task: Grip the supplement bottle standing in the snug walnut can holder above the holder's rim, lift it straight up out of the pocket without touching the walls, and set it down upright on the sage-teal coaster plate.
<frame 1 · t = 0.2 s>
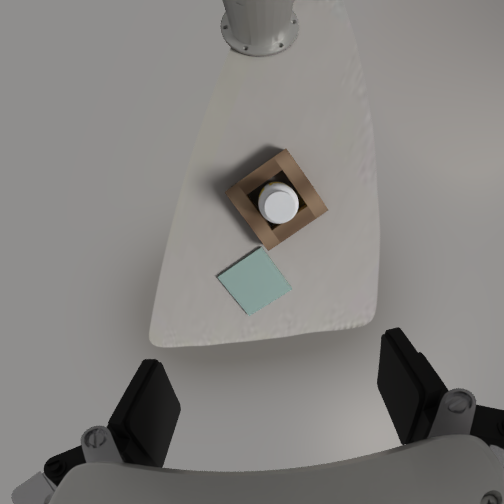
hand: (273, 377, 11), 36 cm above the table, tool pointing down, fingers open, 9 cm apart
coaster plate: (255, 282, 49), on the table
supplement bottle: (276, 198, 44), resting in can holder
can holder: (276, 198, 44), on the table
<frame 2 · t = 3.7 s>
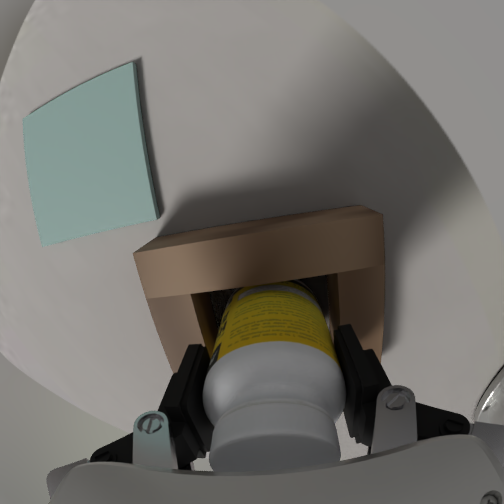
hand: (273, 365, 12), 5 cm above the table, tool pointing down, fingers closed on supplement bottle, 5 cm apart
coaster plate: (79, 159, 14), on the table
supplement bottle: (271, 314, 16), resting in can holder, touching gripper
can holder: (272, 315, 16), on the table
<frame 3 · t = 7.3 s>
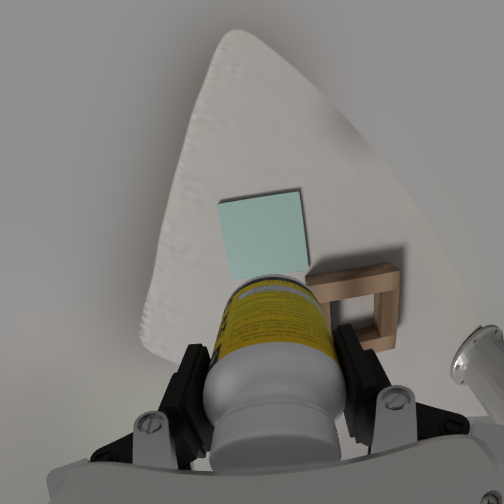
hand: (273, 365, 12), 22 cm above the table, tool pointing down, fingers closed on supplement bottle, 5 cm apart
coaster plate: (264, 236, 32), on the table
supplement bottle: (271, 314, 16), point 17 cm above the table, touching gripper
can holder: (350, 309, 35), on the table
when the fingers open (6 cm above the table, at t = 11.1 s): supplement bottle drops 1 cm, resting on coaster plate.
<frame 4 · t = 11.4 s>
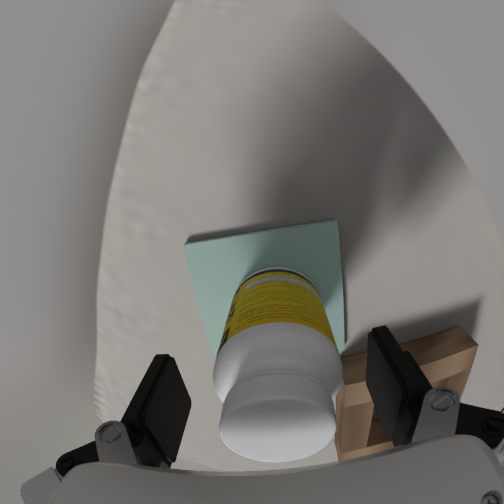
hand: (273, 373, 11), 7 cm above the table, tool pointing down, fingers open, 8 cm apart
coaster plate: (271, 300, 18), on the table
supplement bottle: (275, 304, 18), resting on coaster plate
can holder: (396, 392, 20), on the table
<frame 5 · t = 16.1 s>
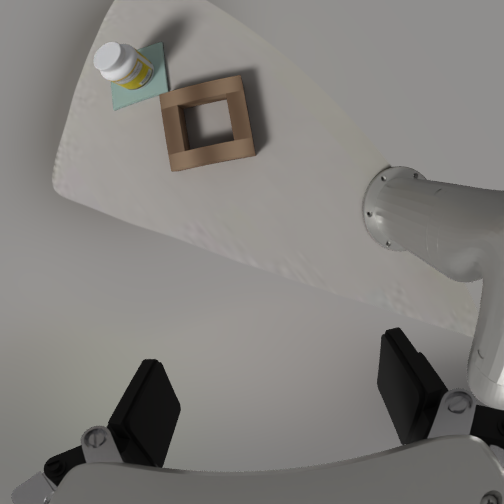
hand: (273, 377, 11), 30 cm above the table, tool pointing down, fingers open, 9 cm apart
coaster plate: (137, 75, 34), on the table
supplement bottle: (138, 75, 34), resting on coaster plate
can holder: (209, 125, 36), on the table
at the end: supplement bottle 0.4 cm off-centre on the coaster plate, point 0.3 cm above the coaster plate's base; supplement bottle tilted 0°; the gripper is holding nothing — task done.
